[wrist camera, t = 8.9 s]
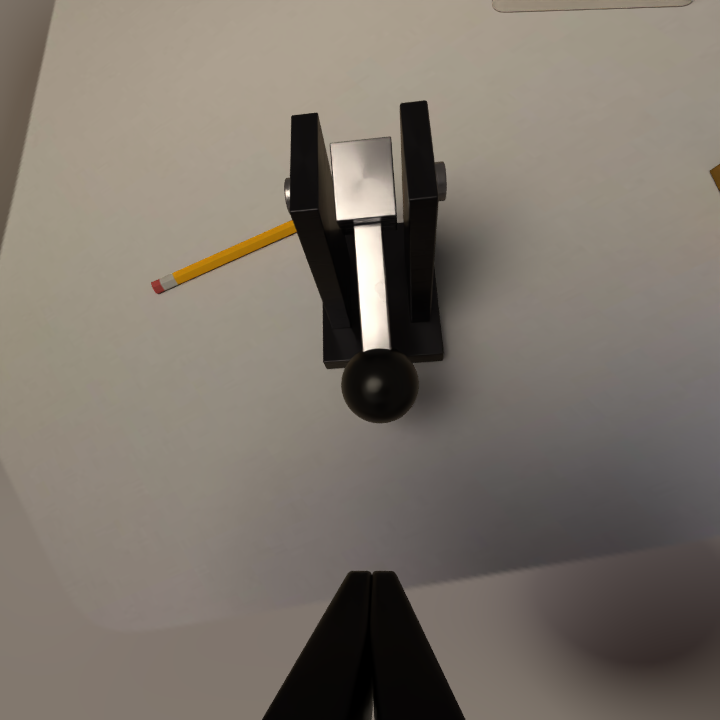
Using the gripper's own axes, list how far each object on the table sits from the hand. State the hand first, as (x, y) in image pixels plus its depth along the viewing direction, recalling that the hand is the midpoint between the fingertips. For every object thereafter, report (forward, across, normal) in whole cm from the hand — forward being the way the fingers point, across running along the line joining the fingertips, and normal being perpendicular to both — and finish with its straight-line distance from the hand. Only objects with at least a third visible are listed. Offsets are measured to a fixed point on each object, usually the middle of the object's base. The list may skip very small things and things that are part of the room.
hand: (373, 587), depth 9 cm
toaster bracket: (+19, 0, 0) cm, 19 cm away
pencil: (+22, +7, -3) cm, 24 cm away
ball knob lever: (+13, 0, -2) cm, 13 cm away
